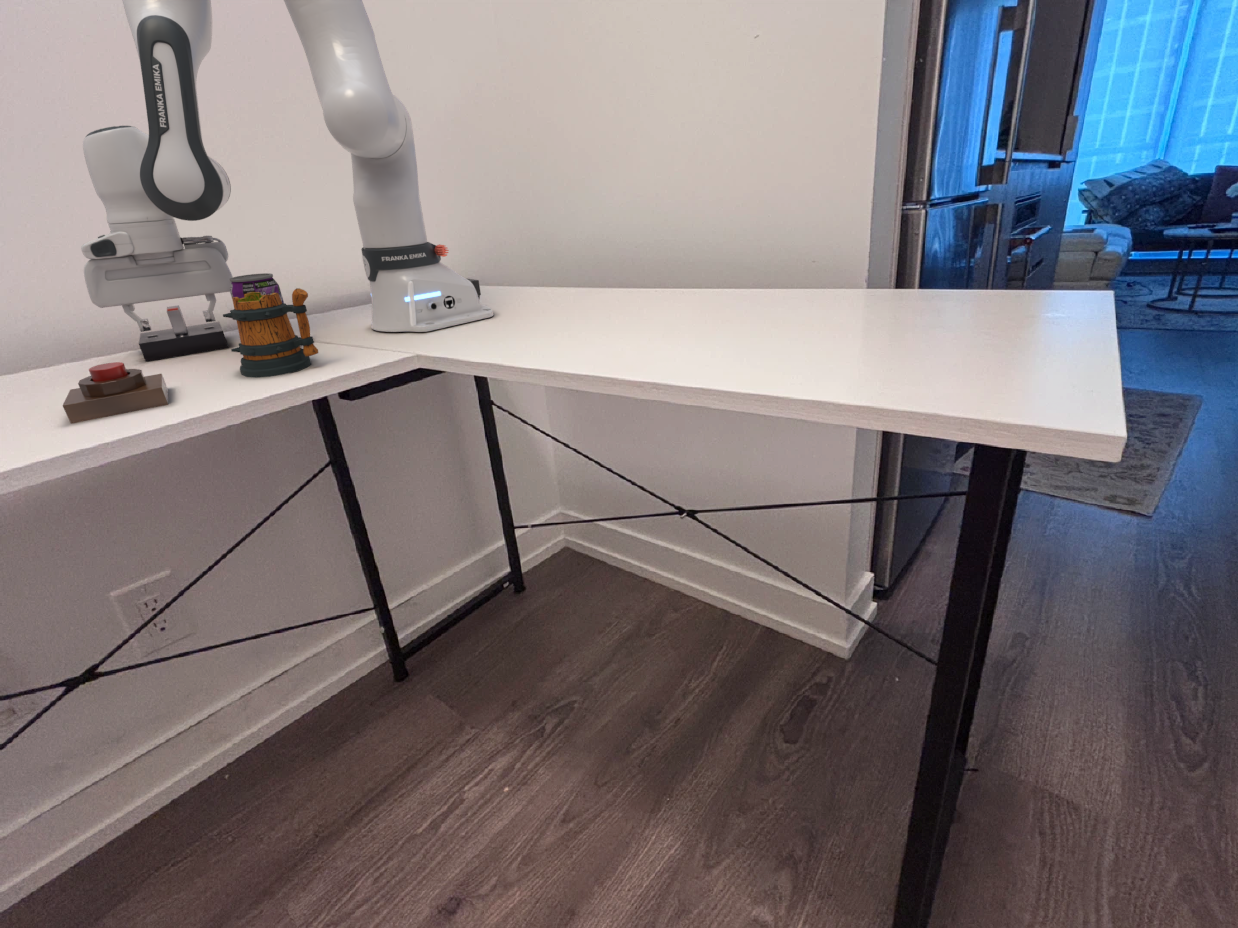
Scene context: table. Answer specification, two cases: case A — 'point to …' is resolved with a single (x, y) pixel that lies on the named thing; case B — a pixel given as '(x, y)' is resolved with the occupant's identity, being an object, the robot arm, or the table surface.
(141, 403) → the block
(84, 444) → the table surface
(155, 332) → the black flat block
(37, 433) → the table surface
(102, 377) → the button
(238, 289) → the beverage can
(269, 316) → the mug
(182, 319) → the tilted grey flap
